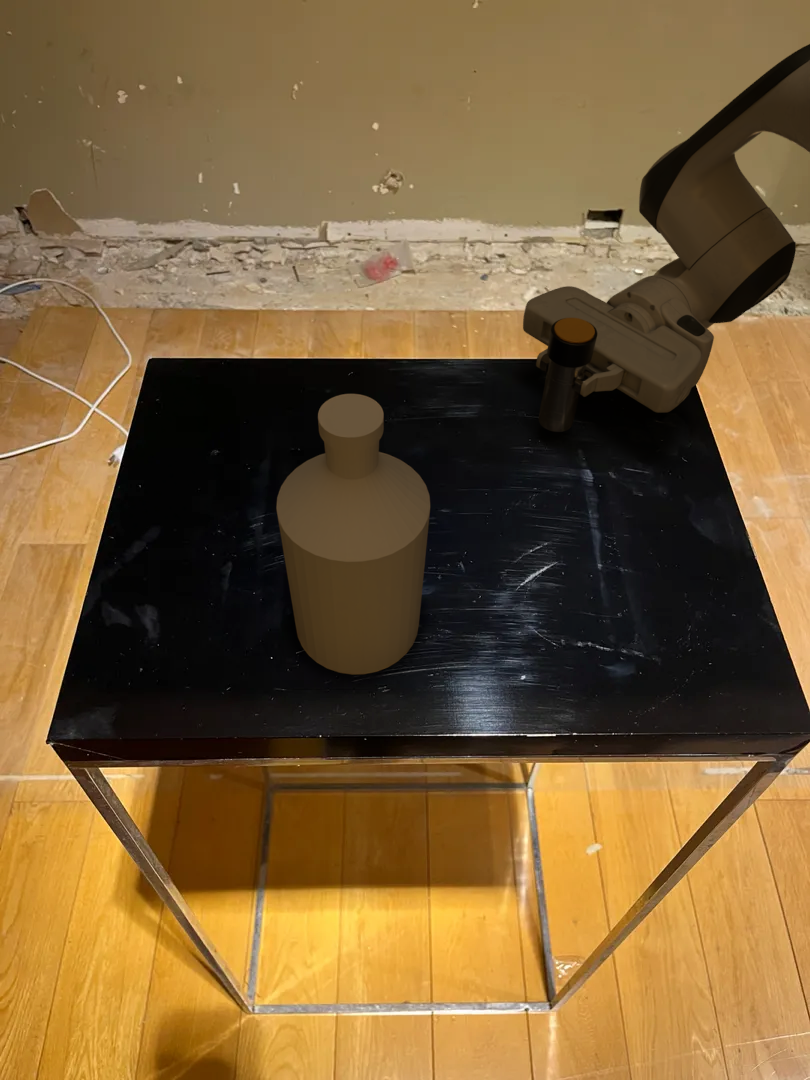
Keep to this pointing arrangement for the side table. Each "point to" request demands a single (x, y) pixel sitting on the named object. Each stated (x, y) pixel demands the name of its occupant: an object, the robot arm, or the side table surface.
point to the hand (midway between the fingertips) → (560, 376)
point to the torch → (565, 371)
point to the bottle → (354, 543)
